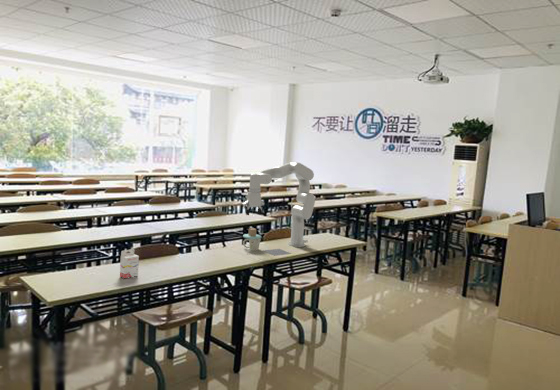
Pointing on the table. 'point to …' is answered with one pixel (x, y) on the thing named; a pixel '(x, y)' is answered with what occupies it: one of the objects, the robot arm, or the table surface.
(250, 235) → the lid
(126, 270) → the ink cartridge box
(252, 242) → the mug
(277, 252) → the mat
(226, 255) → the table surface
